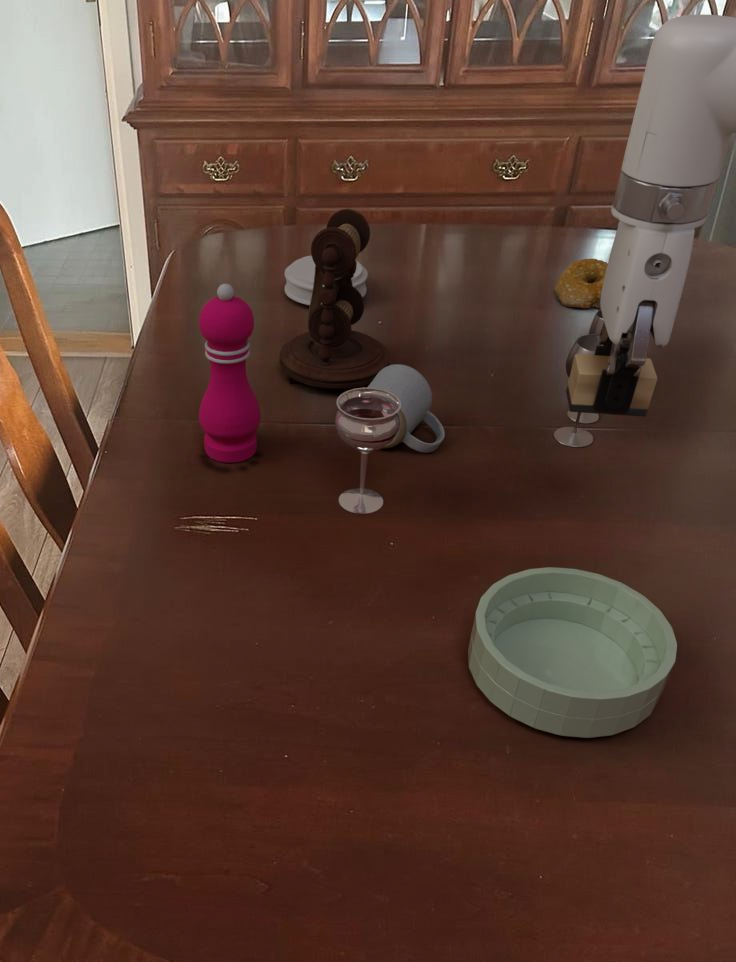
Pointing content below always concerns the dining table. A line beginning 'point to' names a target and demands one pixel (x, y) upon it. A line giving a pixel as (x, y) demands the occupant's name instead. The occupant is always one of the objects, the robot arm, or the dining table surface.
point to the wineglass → (366, 436)
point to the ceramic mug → (410, 405)
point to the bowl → (570, 651)
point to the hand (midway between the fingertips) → (607, 396)
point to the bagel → (582, 283)
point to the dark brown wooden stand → (335, 314)
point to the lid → (303, 280)
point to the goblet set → (581, 346)
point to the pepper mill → (228, 379)
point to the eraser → (587, 381)
